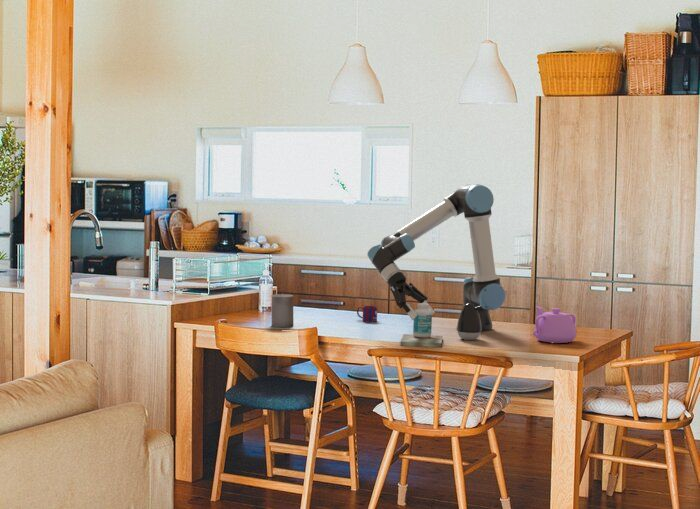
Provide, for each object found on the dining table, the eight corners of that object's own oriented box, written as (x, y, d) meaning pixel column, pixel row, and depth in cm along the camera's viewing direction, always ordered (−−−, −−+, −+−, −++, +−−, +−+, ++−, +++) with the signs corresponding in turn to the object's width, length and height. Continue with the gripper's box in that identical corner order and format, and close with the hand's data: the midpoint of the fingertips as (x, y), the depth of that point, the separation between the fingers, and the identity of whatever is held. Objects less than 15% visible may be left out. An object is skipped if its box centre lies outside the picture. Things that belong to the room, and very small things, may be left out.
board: (442, 339, 387) (442, 335, 387) (441, 347, 367) (441, 343, 367) (403, 337, 389) (403, 334, 389) (400, 345, 369) (400, 341, 369)
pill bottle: (417, 338, 378) (418, 305, 377) (410, 335, 385) (410, 303, 384) (434, 337, 381) (435, 304, 380) (426, 335, 388) (427, 302, 387)
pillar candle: (286, 323, 422) (286, 290, 421) (297, 326, 414) (297, 292, 413) (267, 325, 417) (267, 291, 416) (278, 328, 409) (278, 294, 408)
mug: (372, 322, 432) (372, 308, 432) (353, 320, 438) (354, 306, 438) (379, 321, 438) (380, 306, 438) (361, 319, 444) (362, 304, 443)
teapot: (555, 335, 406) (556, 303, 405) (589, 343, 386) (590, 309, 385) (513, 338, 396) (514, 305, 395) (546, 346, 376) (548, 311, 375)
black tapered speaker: (475, 342, 382) (476, 305, 381) (452, 339, 387) (453, 303, 386) (485, 339, 390) (486, 302, 389) (462, 336, 396) (464, 300, 395)
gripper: (404, 280, 402) (433, 319, 394) (371, 284, 382) (401, 325, 374) (415, 269, 398) (445, 307, 390) (382, 272, 378) (412, 313, 370)
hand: (423, 316), depth 382 cm, fingers open, 13 cm apart
